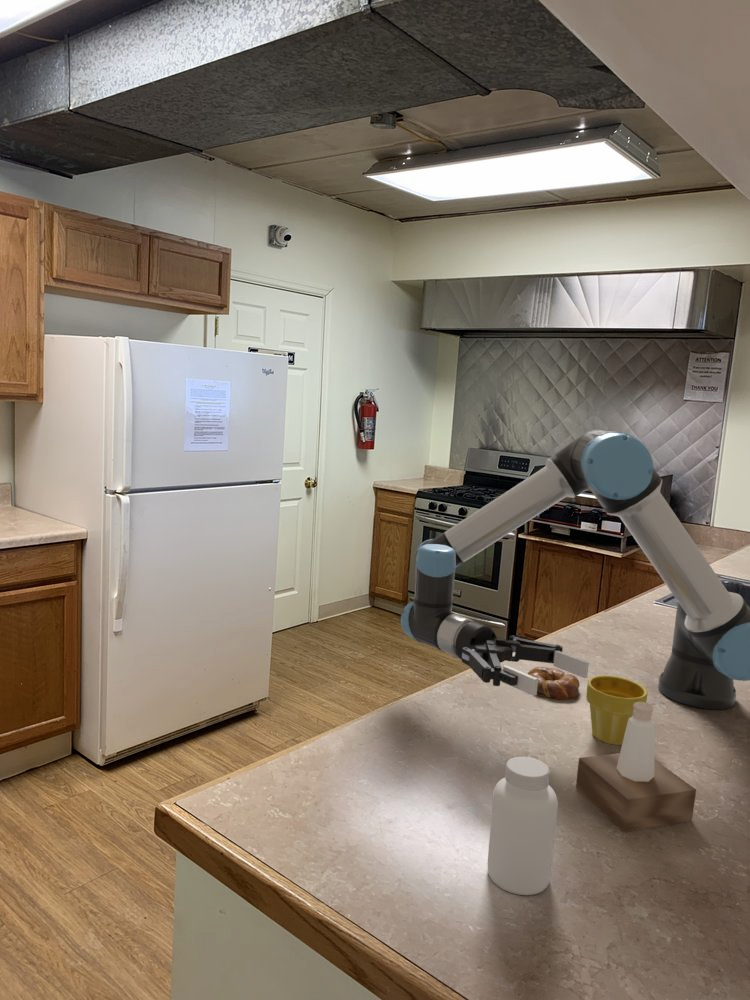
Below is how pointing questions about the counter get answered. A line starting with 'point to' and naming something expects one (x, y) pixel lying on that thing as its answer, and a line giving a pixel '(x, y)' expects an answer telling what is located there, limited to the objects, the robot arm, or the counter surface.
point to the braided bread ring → (555, 683)
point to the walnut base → (635, 794)
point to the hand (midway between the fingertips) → (562, 678)
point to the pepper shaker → (638, 745)
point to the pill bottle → (522, 828)
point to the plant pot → (612, 706)
